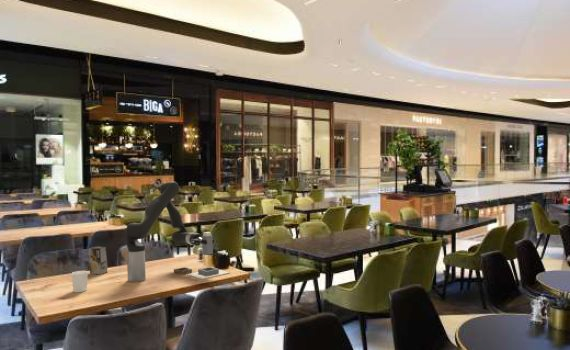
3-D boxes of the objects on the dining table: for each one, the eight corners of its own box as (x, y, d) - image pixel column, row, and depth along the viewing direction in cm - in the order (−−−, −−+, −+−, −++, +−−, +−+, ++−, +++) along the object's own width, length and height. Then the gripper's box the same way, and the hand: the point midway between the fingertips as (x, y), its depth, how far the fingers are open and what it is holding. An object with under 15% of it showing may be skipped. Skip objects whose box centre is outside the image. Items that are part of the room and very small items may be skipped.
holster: (180, 274, 285) (180, 271, 284) (173, 272, 290) (173, 269, 290) (191, 272, 290) (191, 269, 290) (184, 270, 296) (184, 267, 296)
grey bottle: (206, 254, 281) (206, 233, 281) (202, 253, 284) (201, 232, 284) (212, 253, 284) (212, 232, 284) (208, 252, 287) (208, 231, 287)
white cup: (83, 288, 258) (82, 269, 258) (90, 290, 253) (90, 271, 253) (69, 291, 252) (68, 272, 252) (76, 293, 247) (75, 274, 247)
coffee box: (108, 272, 296) (107, 246, 295) (101, 274, 290) (100, 248, 289) (95, 271, 298) (95, 246, 298) (89, 273, 292) (88, 248, 292)
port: (202, 279, 272) (202, 274, 271) (187, 275, 283) (187, 270, 283) (229, 273, 285) (229, 268, 285) (214, 269, 297) (214, 264, 297)
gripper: (184, 234, 289) (200, 237, 277) (203, 231, 299) (219, 234, 287) (184, 246, 289) (200, 249, 277) (203, 243, 299) (219, 246, 287)
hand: (210, 241), depth 282 cm, fingers closed on grey bottle, 4 cm apart
